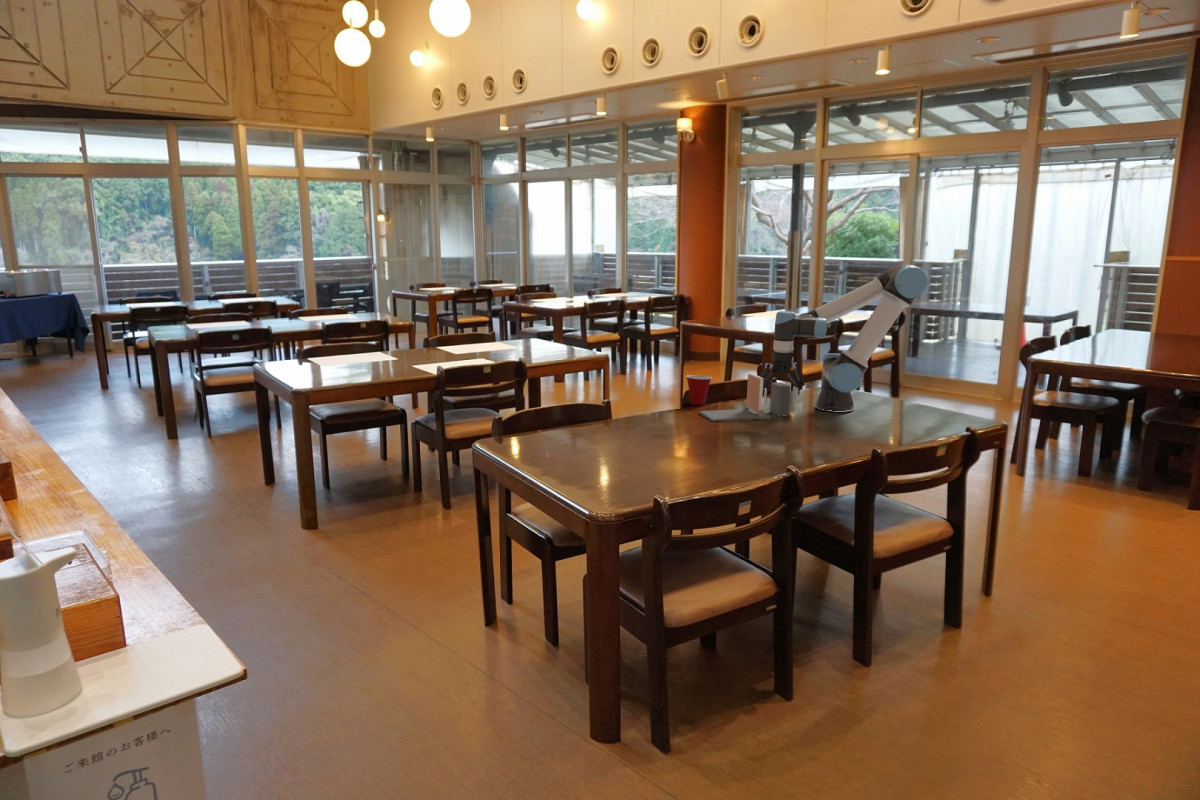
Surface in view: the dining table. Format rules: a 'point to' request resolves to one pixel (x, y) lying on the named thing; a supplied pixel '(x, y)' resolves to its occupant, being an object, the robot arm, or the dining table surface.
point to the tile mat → (734, 414)
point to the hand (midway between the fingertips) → (779, 404)
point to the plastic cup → (698, 388)
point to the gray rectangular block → (779, 399)
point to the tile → (754, 392)
